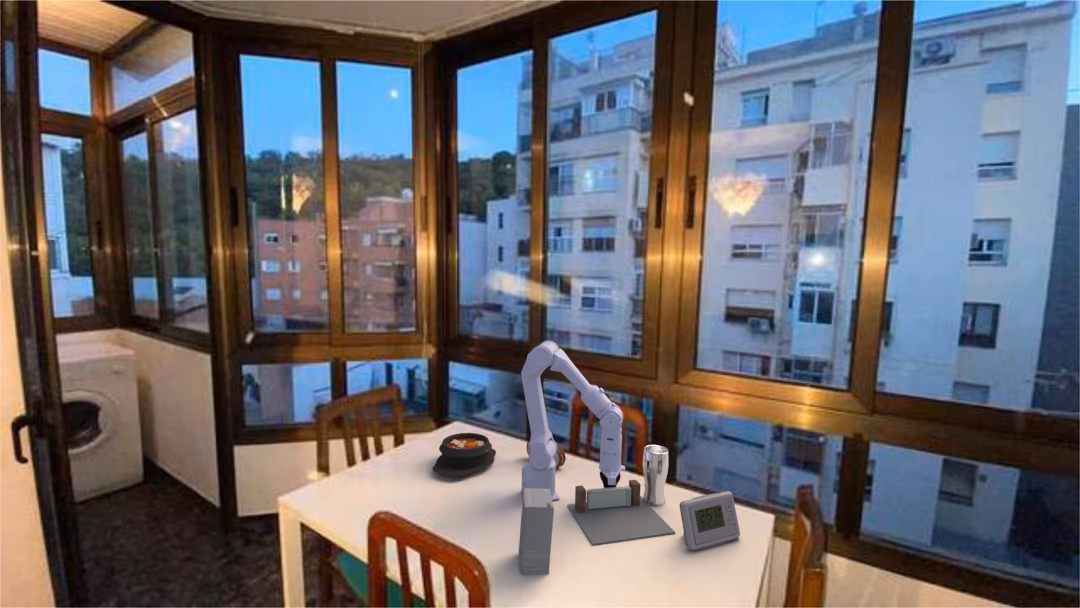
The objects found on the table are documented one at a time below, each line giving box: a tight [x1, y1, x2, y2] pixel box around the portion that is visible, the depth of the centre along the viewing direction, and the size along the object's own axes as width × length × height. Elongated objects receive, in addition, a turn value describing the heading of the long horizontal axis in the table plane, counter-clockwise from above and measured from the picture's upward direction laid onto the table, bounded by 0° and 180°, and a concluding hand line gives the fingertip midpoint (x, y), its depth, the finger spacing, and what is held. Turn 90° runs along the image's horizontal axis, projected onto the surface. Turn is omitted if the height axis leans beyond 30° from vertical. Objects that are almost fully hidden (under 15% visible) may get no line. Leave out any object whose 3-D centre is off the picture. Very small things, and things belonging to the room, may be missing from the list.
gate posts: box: [574, 479, 642, 513], centre depth 134 cm, size 18×3×6 cm, turn 105°
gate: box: [586, 485, 631, 509], centre depth 133 cm, size 12×2×5 cm, turn 102°
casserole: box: [432, 432, 497, 478], centre depth 159 cm, size 25×19×8 cm
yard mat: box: [566, 495, 676, 547], centre depth 128 cm, size 22×19×1 cm
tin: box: [526, 438, 567, 470], centre depth 161 cm, size 15×3×8 cm, turn 49°
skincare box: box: [518, 488, 555, 575], centre depth 108 cm, size 8×7×16 cm
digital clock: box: [679, 490, 741, 551], centre depth 119 cm, size 16×9×11 cm, turn 102°
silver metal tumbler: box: [642, 444, 669, 507], centre depth 138 cm, size 7×7×15 cm
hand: (609, 498), depth 136 cm, fingers closed
